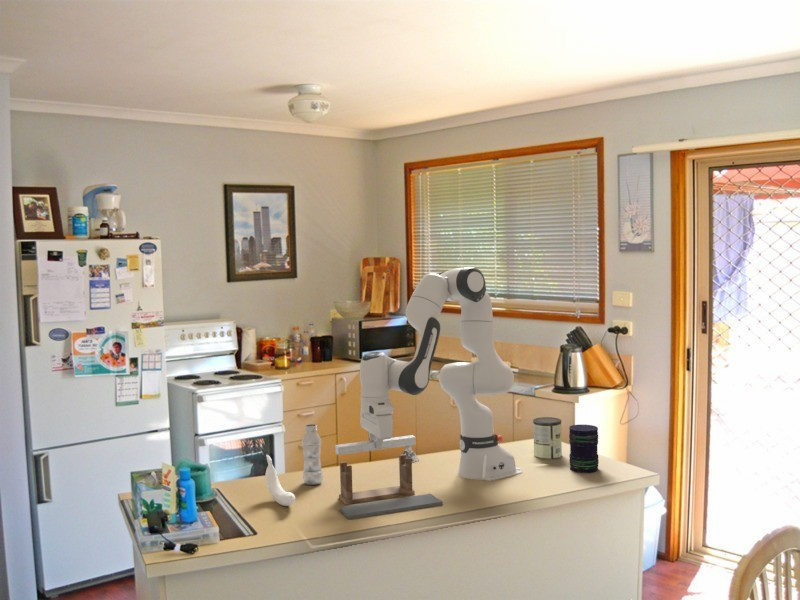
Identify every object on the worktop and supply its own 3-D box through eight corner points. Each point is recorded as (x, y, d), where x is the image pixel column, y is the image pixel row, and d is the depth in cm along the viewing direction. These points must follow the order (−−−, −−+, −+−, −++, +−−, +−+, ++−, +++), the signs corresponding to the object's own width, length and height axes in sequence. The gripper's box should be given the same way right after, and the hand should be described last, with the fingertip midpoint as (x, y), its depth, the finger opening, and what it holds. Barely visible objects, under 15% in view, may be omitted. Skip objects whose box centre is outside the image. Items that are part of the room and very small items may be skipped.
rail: (412, 442, 256) (412, 435, 256) (416, 444, 254) (415, 437, 253) (335, 452, 247) (335, 444, 247) (338, 455, 244) (338, 447, 244)
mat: (430, 496, 249) (430, 493, 249) (442, 504, 241) (442, 501, 241) (339, 510, 238) (339, 507, 238) (348, 519, 230) (348, 516, 230)
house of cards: (431, 461, 293) (431, 440, 292) (415, 466, 286) (415, 445, 286) (414, 457, 299) (413, 437, 298) (398, 462, 293) (397, 441, 292)
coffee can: (537, 453, 300) (536, 416, 299) (564, 455, 295) (564, 418, 295) (530, 459, 290) (529, 421, 289) (558, 462, 286) (557, 423, 285)
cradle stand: (406, 488, 258) (405, 453, 258) (414, 494, 252) (413, 458, 251) (338, 498, 250) (337, 462, 249) (345, 504, 243) (344, 467, 243)
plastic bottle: (319, 487, 262) (318, 427, 261) (300, 486, 263) (298, 427, 262) (325, 481, 268) (323, 423, 267) (306, 481, 270) (304, 423, 269)
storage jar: (588, 465, 281) (587, 423, 280) (604, 471, 272) (604, 428, 271) (563, 468, 278) (563, 426, 277) (579, 475, 269) (579, 431, 268)
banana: (288, 514, 236) (287, 465, 235) (261, 499, 251) (259, 453, 250) (303, 510, 238) (301, 462, 238) (275, 496, 254) (273, 450, 253)
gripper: (354, 399, 258) (356, 441, 259) (376, 411, 239) (378, 456, 240) (373, 397, 260) (374, 439, 261) (396, 408, 241) (397, 453, 242)
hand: (376, 447), depth 250 cm, fingers closed on rail, 3 cm apart
